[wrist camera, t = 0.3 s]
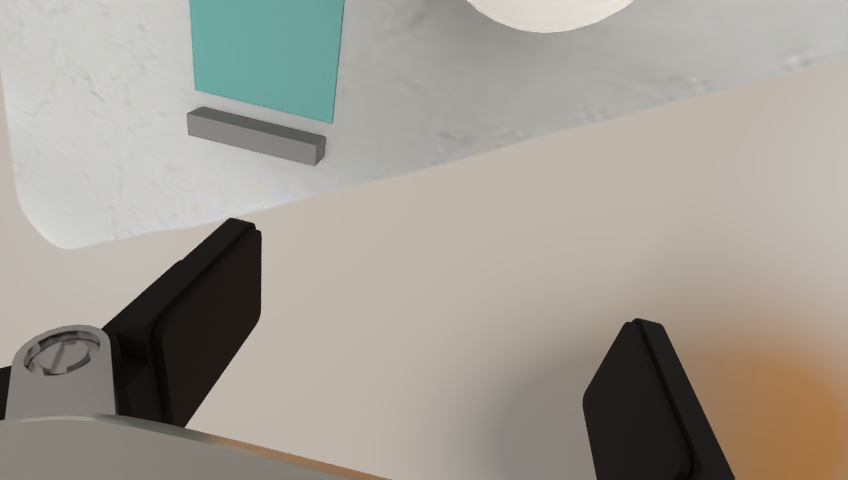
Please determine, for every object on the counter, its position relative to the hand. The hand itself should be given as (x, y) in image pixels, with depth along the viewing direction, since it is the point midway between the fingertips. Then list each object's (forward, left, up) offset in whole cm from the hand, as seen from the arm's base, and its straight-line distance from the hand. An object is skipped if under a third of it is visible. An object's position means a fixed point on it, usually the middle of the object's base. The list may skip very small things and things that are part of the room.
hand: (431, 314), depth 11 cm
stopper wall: (+9, -19, -31) cm, 37 cm away
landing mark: (0, -19, -31) cm, 36 cm away
